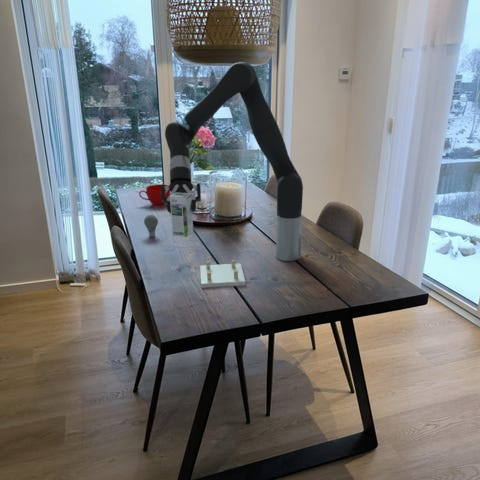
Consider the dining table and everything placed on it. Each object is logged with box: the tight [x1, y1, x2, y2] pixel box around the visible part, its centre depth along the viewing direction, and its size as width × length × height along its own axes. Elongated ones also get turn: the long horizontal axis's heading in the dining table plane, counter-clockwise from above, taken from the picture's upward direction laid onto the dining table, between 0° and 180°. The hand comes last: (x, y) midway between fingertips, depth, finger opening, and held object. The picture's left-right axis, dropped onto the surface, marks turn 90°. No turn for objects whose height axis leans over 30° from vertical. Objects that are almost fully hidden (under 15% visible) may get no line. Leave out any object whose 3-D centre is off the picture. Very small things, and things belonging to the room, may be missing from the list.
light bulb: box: [143, 214, 159, 238], centre depth 193 cm, size 6×6×10 cm
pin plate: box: [199, 259, 246, 289], centre depth 155 cm, size 15×15×4 cm
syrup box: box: [170, 192, 194, 238], centre depth 151 cm, size 6×6×14 cm
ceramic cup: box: [138, 183, 171, 207], centre depth 239 cm, size 13×17×10 cm
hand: (181, 211), depth 150 cm, fingers closed on syrup box, 7 cm apart
